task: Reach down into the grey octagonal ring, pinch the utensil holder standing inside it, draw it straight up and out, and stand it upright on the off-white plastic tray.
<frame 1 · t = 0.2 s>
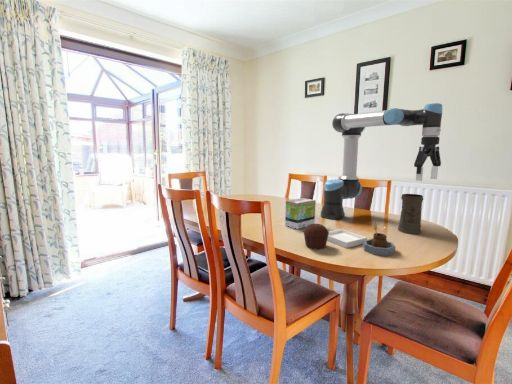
hand: (426, 179, 139), 28 cm above the table, tool pointing down, fingers open, 13 cm apart
tea box: (300, 225, 159), on the table
beer stein: (407, 230, 149), on the table
utensil holder: (378, 250, 120), resting in grey octagonal ring
grey octagonal ring: (378, 250, 120), on the table
tray: (343, 240, 133), on the table
muffin: (315, 246, 125), on the table
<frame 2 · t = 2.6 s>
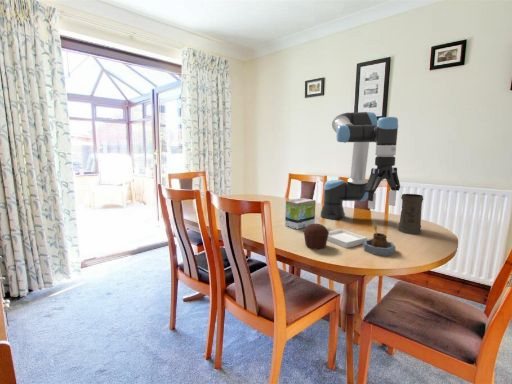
hand: (381, 207, 116), 19 cm above the table, tool pointing down, fingers open, 13 cm apart
nothing on the table moved.
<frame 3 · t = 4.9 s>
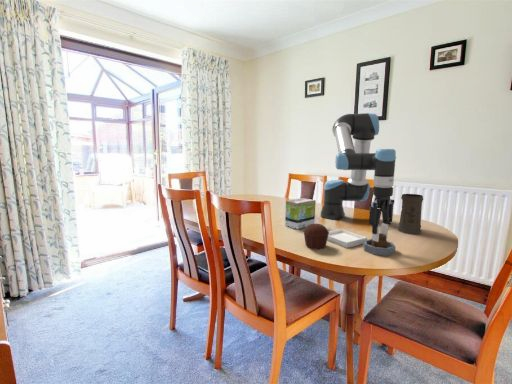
hand: (379, 239, 119), 5 cm above the table, tool pointing down, fingers closed on utensil holder, 5 cm apart
utensil holder: (378, 250, 120), resting in grey octagonal ring, touching gripper
everything else where it was.
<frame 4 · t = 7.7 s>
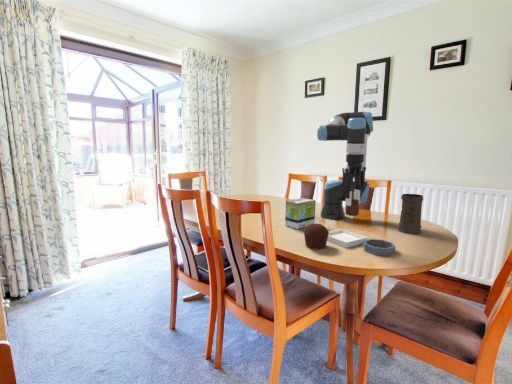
hand: (352, 204, 128), 18 cm above the table, tool pointing down, fingers closed on utensil holder, 5 cm apart
utensil holder: (351, 214, 128), point 13 cm above the table, touching gripper
everything else where it was.
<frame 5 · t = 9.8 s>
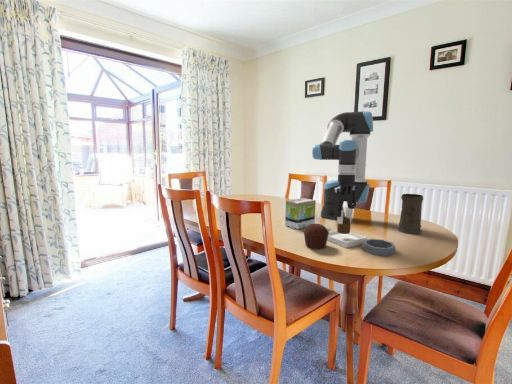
hand: (344, 222, 131), 9 cm above the table, tool pointing down, fingers closed on utensil holder, 5 cm apart
utensil holder: (343, 232, 132), point 4 cm above the table, touching gripper
everything else where it was.
when the fingers open (7 cm above the table, at t = 10.9 s): utensil holder drops 1 cm, resting on tray.
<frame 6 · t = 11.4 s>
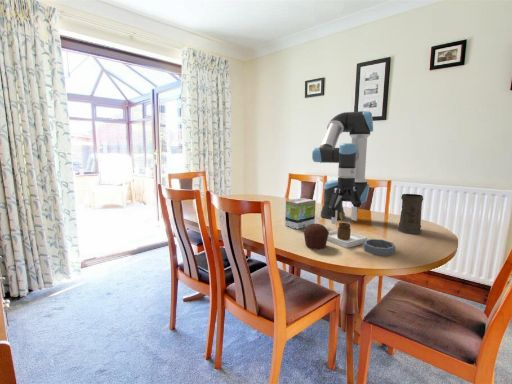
hand: (344, 221, 131), 9 cm above the table, tool pointing down, fingers open, 13 cm apart
utensil holder: (343, 238, 133), point 1 cm above the table, touching tray
everything else where it was.
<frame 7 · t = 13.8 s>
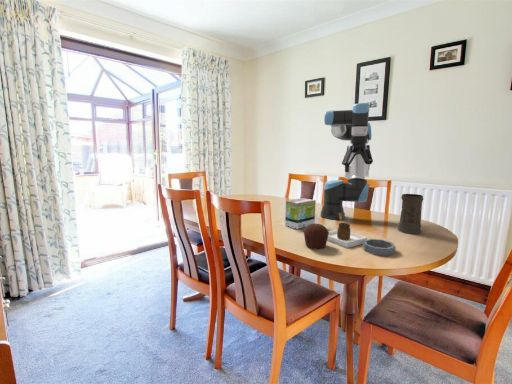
hand: (356, 177, 143), 29 cm above the table, tool pointing down, fingers open, 13 cm apart
nothing on the table moved.
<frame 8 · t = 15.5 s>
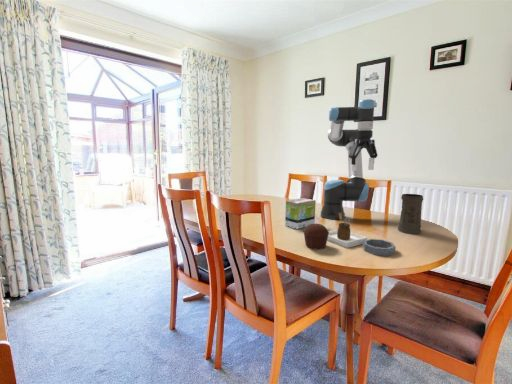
hand: (362, 170, 150), 32 cm above the table, tool pointing down, fingers open, 13 cm apart
nothing on the table moved.
at the end: utensil holder inside the target area on the tray (0.0 cm from its centre), point 0.8 cm above the tray's base; utensil holder tilted 0°; the gripper is holding nothing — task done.
